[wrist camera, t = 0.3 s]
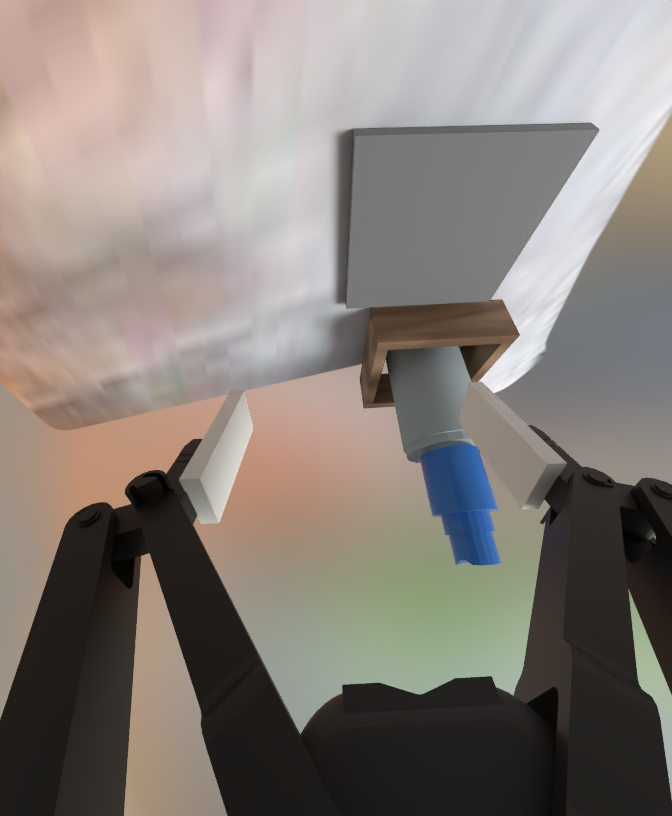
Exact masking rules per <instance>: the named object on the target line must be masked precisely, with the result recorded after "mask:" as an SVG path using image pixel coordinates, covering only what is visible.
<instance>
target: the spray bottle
mask: <svg viewBox="0 0 672 816" xmlns="http://www.w3.org/2000/svg"><path fill="white" fill-rule="evenodd" d="M386 362H387V367H388V372H389V378H390V383H391V388H392V393H393V398H394V403H395V408H396V413H397V418H398V423H399V429H400V434H401V439H402V443H403V449H404V452H405V453H406V455H407V459H408V460H409V461H412V462H416V463H421V466H422V470H423V475H424V480H425V484H426V489H427V493H428V498H429V502H430V507H431V511H432V515H433V516H434V517H441V518H442V523H443V527H444V531H445V535H449V538H450V542H451V546H452V551H453V554H454V559H455V563H456V564H461V563H466V562H469V563H471V564H472V565H491V564H498V563H501V561H500V558H499V554H498V551H497V548H496V545H495V542H494V538H493V535H492V532H491V531H495V529H494V526H493V523H492V519H491V516H490V513H489V512H490V511H494V510H497V509H498V508H497V505H496V502H495V498H494V495H493V492H492V490H491V486H490V483H489V481H488V477H487V474H486V471H485V468H484V465H483V462H482V459H481V456H480V451H479V449H478V448H477V446H476V445H475V444H474V442H473V441H472V439H471V438H470V436H469V435H468V434H467V432H466V431H465V429H464V428H463V427H462V425H461V424H460V422H459V421H458V419H459V415H460V412H461V408H462V405H463V401H464V398H465V394H466V391H467V387H468V384H469V382H471V379H470V377H469V374H468V371H467V368H466V365H465V363H464V360H463V357H462V354H461V351H460V349H459V346H451V347H433V348H416V349H398V350H388V352H387V355H386Z"/></svg>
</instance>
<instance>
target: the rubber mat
mask: <svg viewBox="0 0 672 816" xmlns="http://www.w3.org/2000/svg"><path fill="white" fill-rule="evenodd" d="M598 132H599V129H598V128H597V127H596V126H595V125H593V124H592V123H570V124H529V125H489V126H448V127H407V128H366V129H353V148H352V170H351V192H350V214H349V235H348V257H347V279H346V301H345V302H346V309H349V308H368V307H388V306H408V305H428V304H447V303H467V302H487V301H490V300H491V298H492V297H493V295H494V294H495V292H496V290H497V289H498V287H499V286H500V284H501V283H502V281H503V280H504V278H505V276H506V275H507V273H508V272H509V270H510V269H511V267H512V266H513V264H514V262H515V261H516V259H517V258H518V256H519V255H520V253H521V252H522V250H523V248H524V247H525V245H526V244H527V242H528V241H529V239H530V238H531V236H532V234H533V233H534V231H535V230H536V228H537V227H538V225H539V224H540V222H541V220H542V219H543V217H544V216H545V214H546V213H547V211H548V210H549V208H550V206H551V205H552V203H553V202H554V200H555V199H556V197H557V196H558V194H559V192H560V191H561V189H562V188H563V186H564V185H565V183H566V182H567V180H568V178H569V177H570V175H571V174H572V172H573V171H574V169H575V168H576V166H577V164H578V163H579V161H580V160H581V158H582V157H583V155H584V154H585V152H586V150H587V149H588V147H589V146H590V144H591V143H592V141H593V140H594V138H595V136H596V135H597V133H598Z"/></svg>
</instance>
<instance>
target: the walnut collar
mask: <svg viewBox="0 0 672 816" xmlns="http://www.w3.org/2000/svg"><path fill="white" fill-rule="evenodd" d="M519 335H520V334H519V332H518V330H517V328H516V326H515V324H514V322H513V320H512V318H511V316H510V314H509V312H508V310H507V308H506V306H505V304H504V302H503V300H490V301H487V302H467V303H447V304H428V305H408V306H388V307H371V311H370V318H369V324H368V330H367V337H366V343H365V350H364V356H363V362H362V369H361V375H360V384H361V391H362V399H363V407H364V408H376V407H391V406H395V403H394V398H393V393H392V388H391V383H390V378H389V374H381V373H382V369H383V366H384V362H385V359H386V355H387V352H388V350H398V349H416V348H433V347H451V346H462V347H461V348H460V351H461V354H462V357H463V360H464V363H465V365H466V368H467V371H468V374H469V377H470V379H471V382H478V381H479V380H480V379H481V378H482V377H483V376H484V375H485V373H486V372H487V371H488V370H489V369H490V368H491V367H492V366H493V365H494V363H495V362H496V361H497V360H498V359H499V358H500V357H501V356H502V354H503V353H504V352H505V351H506V350H507V349H508V348H509V347H510V345H511V344H512V343H513V342H514V341H515V340H516V339H517V338H518V337H519Z"/></svg>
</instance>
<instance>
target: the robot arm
mask: <svg viewBox="0 0 672 816" xmlns="http://www.w3.org/2000/svg"><path fill="white" fill-rule="evenodd" d="M458 421H459V422H460V424H461V425H462V427H463V428H464V429H465V431H466V432H467V434H468V435H469V436H470V438H471V439H472V441H473V442H474V444H475V445H476V446H477V448H478V449H479V451H480V452H481V453H482V455H483V456H484V458H485V459H486V460H487V462H488V463H489V465H490V466H491V467H492V469H493V470H494V472H495V473H496V474H497V476H498V477H499V479H500V480H501V481H502V483H503V484H504V486H505V487H506V488H507V490H508V491H509V493H510V494H511V495H512V497H513V498H514V500H515V501H516V502H517V504H518V505H519V507H520V508H521V509H538V508H539V507H540V506H541V504H542V502H543V501H544V499H545V500H546V501H547V503H548V504H549V505H550V506H551V507H550V508H549V510H548V511H547V513H546V514H545V516H544V517H543V519H542V520H541V522H540V523H541V524H543V523H544V522H545V521H546V522H545V530H544V536H543V543H542V549H541V555H540V563H539V569H538V576H537V582H536V588H535V595H534V602H533V608H532V615H531V622H530V628H529V635H528V641H527V648H526V655H525V661H524V667H523V671H522V675H521V677H520V679H519V681H518V684H517V686H516V689H515V692H514V696H513V695H511V694H510V693H508V692H505V691H503V690H501V689H499V688H496V687H495V684H494V681H493V679H492V677H491V676H490V677H471V678H455V679H453V680H451V681H449V682H447V683H445V684H443V685H441V686H439V687H437V688H435V689H433V690H431V691H429V692H427V693H425V694H421V695H418V694H414V693H411V692H408V691H404V690H401V689H398V688H395V687H391V686H388V685H385V684H382V683H367V684H349V685H342V688H343V689H342V690H343V695H342V694H340V695H338V696H336V697H334V698H332V699H331V700H329V701H328V702H327V703H325V704H324V705H323V706H322V707H321V708H320V709H319V710H318V711H317V712H316V713H315V714H314V715H313V717H312V718H311V719H310V720H309V722H308V723H307V725H306V726H305V728H304V730H303V731H302V733H301V735H300V733H299V731H298V729H297V728H296V726H295V723H294V721H293V719H292V718H291V716H290V714H289V712H288V710H287V708H286V706H285V704H284V702H283V700H282V698H281V696H280V694H279V692H278V691H277V689H276V687H275V685H274V683H273V681H272V679H271V677H270V675H269V673H268V671H267V669H266V667H265V665H264V663H263V661H262V659H261V657H260V655H259V653H258V652H257V649H256V647H255V645H254V644H253V641H252V639H251V638H250V636H249V634H248V632H247V630H246V628H245V626H244V624H243V622H242V620H241V618H240V616H239V614H238V612H237V610H236V608H235V606H234V604H233V602H232V600H231V598H230V597H229V594H228V592H227V590H226V589H225V587H224V585H223V583H222V581H221V579H220V577H219V575H218V573H217V571H216V569H215V567H214V565H213V563H212V561H211V559H210V557H209V555H208V553H207V551H206V549H205V548H204V545H203V543H202V541H201V540H200V538H199V536H198V534H197V532H196V530H195V528H194V526H193V523H194V521H195V519H196V517H197V516H198V519H199V521H200V523H201V524H210V523H219V522H220V519H221V516H222V514H223V511H224V508H225V505H226V502H227V500H228V497H229V494H230V491H231V489H232V486H233V483H234V480H235V478H236V475H237V472H238V469H239V466H240V464H241V461H242V458H243V456H244V453H245V450H246V447H247V445H248V442H249V439H250V436H251V433H252V431H253V425H252V420H251V417H250V412H249V408H248V405H247V400H246V395H245V391H244V390H243V391H231V392H230V393H229V395H228V397H227V399H226V400H225V402H224V404H223V406H222V407H221V409H220V411H219V412H218V414H217V416H216V417H215V419H214V421H213V423H212V424H211V426H210V427H209V429H208V431H207V433H206V434H205V436H204V438H203V439H193V440H192V441H190V442H189V443H188V444H187V445H186V446H184V448H183V449H182V451H181V452H180V454H179V456H178V457H177V459H176V460H175V463H173V465H172V466H171V468H170V469H169V471H168V472H167V474H166V473H165V472H163V471H160V470H153V471H148V472H146V473H143V474H141V475H139V476H137V477H135V478H134V479H133V480H132V481H131V482H130V483H129V484H128V485H127V487H126V489H125V494H126V496H127V497H128V499H129V500H130V502H131V503H132V504H130V505H127V506H123V507H119V508H116V509H113V508H112V507H111V505H109V504H108V503H102V502H100V503H95V504H92V505H89V506H87V507H85V508H83V509H82V510H80V511H79V512H77V513H75V514H74V515H73V516H72V517H71V518H70V519H69V521H68V523H67V524H66V526H65V528H64V531H63V535H62V537H61V540H60V543H59V546H58V549H57V552H56V555H55V558H54V562H53V564H52V567H51V570H50V573H49V576H48V580H47V582H46V585H45V588H44V591H43V594H42V597H41V600H40V603H39V606H38V609H37V612H36V615H35V618H34V621H33V624H32V627H31V630H30V633H29V636H28V639H27V642H26V645H25V648H24V651H23V654H22V657H21V660H20V663H19V666H18V669H17V672H16V675H15V678H14V680H13V683H12V686H11V690H10V692H9V695H8V699H7V701H6V704H5V707H4V710H3V713H2V716H1V720H0V816H124V802H125V787H126V773H127V758H128V742H129V728H130V713H131V698H132V697H131V696H132V683H133V669H134V654H135V638H136V624H137V609H138V594H139V578H140V563H141V556H142V555H145V554H148V553H150V555H151V559H152V561H153V565H154V568H155V571H156V574H157V577H158V580H159V583H160V586H161V589H162V592H163V595H164V598H165V601H166V604H167V608H168V611H169V614H170V617H171V619H172V623H173V626H174V629H175V632H176V635H177V638H178V641H179V644H180V647H181V650H182V654H183V657H184V659H185V663H186V666H187V669H188V672H189V675H190V678H191V681H192V684H193V687H194V690H195V693H196V696H197V700H198V703H199V706H200V709H201V715H202V718H201V728H202V734H203V737H204V741H205V745H206V748H207V751H208V755H209V757H210V761H211V764H212V767H213V771H214V774H215V777H216V780H217V783H218V787H219V790H220V793H221V796H222V799H223V803H224V805H225V809H226V812H227V815H228V816H672V800H671V792H670V785H669V778H668V771H667V764H666V757H665V750H664V743H663V736H662V729H661V721H660V716H659V712H658V708H657V705H656V703H655V702H654V700H653V698H652V697H651V696H650V695H649V694H647V693H646V692H645V691H643V690H642V689H641V687H640V685H639V683H638V678H637V668H636V660H635V650H634V640H633V631H632V621H631V611H630V601H629V592H628V588H629V591H630V593H631V596H632V598H633V601H634V603H635V605H636V608H637V610H638V613H639V615H640V618H641V620H642V623H643V625H644V628H645V630H646V633H647V635H648V637H649V640H650V642H651V645H652V647H653V650H654V652H655V655H656V657H657V660H658V662H659V664H660V667H661V669H662V672H663V674H664V677H665V679H666V682H667V684H668V687H669V689H670V692H671V694H672V485H671V484H668V483H667V482H664V481H660V480H657V479H653V478H642V479H641V480H640V481H639V482H638V483H637V484H636V486H632V485H626V484H620V483H616V482H615V481H614V480H613V479H612V478H610V477H609V476H607V475H606V474H604V473H603V472H600V471H598V470H596V469H592V468H589V467H581V466H580V465H579V464H578V463H577V462H576V461H575V460H574V459H572V458H571V457H570V456H569V455H568V454H567V453H566V452H565V451H564V450H563V449H561V448H560V447H559V446H557V444H556V443H555V442H554V441H553V440H551V439H550V438H549V437H548V436H547V435H546V434H545V433H544V432H543V431H541V430H539V429H537V428H536V427H534V426H532V425H526V424H525V423H524V422H523V421H522V420H521V419H520V418H519V417H518V416H517V415H516V414H515V413H513V411H512V410H511V409H510V408H509V407H507V406H506V405H505V404H504V403H503V402H502V401H501V400H500V399H499V398H498V397H497V396H496V395H495V394H494V393H493V392H492V391H491V390H490V389H489V388H488V387H486V386H485V385H484V384H483V383H482V382H469V384H468V387H467V391H466V394H465V398H464V401H463V405H462V408H461V412H460V415H459V419H458ZM654 536H656V539H655V538H654Z"/></svg>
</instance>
